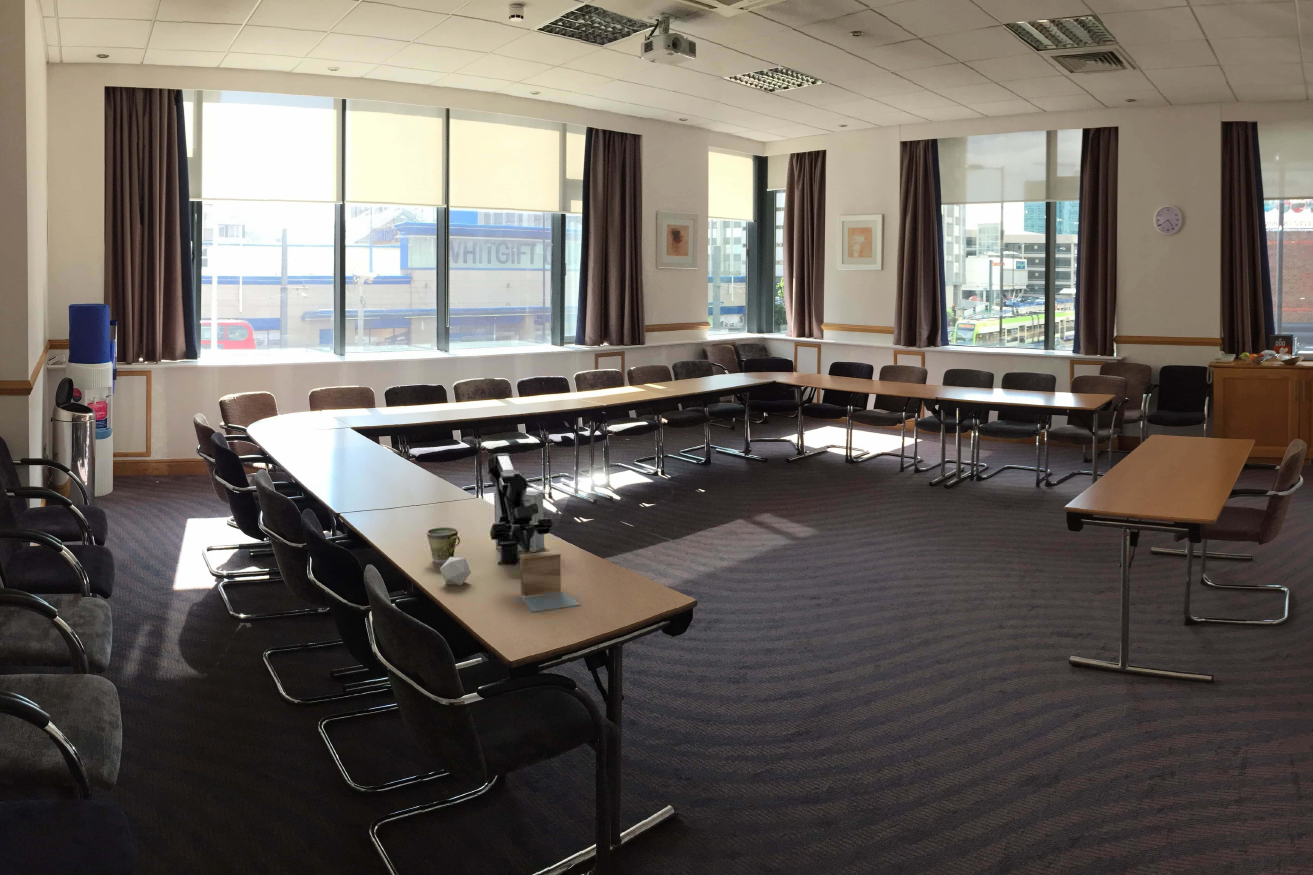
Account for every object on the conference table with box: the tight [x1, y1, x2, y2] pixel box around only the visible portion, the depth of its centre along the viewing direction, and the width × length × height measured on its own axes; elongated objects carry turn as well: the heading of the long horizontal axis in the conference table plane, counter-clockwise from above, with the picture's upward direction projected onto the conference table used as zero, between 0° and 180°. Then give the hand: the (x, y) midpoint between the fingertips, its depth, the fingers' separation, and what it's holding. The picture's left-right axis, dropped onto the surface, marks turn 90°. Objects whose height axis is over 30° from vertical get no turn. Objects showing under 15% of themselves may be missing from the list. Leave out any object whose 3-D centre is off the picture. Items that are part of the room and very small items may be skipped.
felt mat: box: [519, 591, 581, 613], centre depth 269 cm, size 12×14×1 cm
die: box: [439, 556, 472, 586], centre depth 285 cm, size 8×9×10 cm
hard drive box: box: [493, 489, 545, 553], centre depth 323 cm, size 16×8×20 cm, turn 74°
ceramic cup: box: [426, 526, 461, 564], centre depth 308 cm, size 13×10×10 cm
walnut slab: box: [519, 550, 562, 598], centre depth 276 cm, size 4×11×12 cm, turn 115°
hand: (527, 552), depth 283 cm, fingers closed
